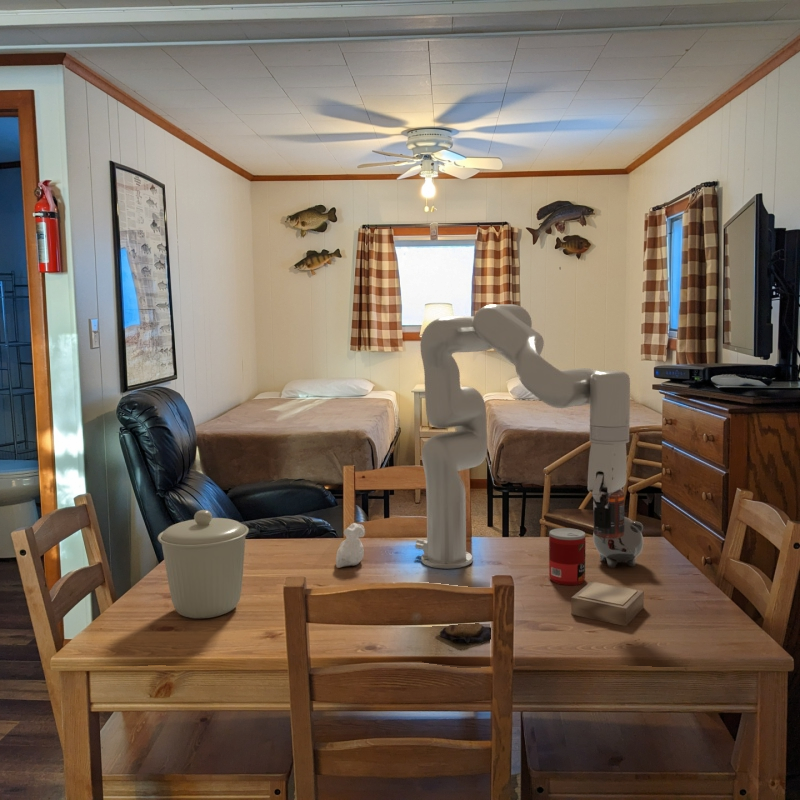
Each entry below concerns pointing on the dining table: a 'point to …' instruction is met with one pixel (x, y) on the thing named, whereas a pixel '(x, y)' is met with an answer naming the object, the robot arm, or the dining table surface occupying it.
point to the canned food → (567, 556)
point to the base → (607, 603)
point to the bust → (351, 546)
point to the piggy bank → (621, 545)
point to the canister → (204, 564)
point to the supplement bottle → (613, 517)
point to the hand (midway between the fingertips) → (608, 522)
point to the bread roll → (464, 635)
